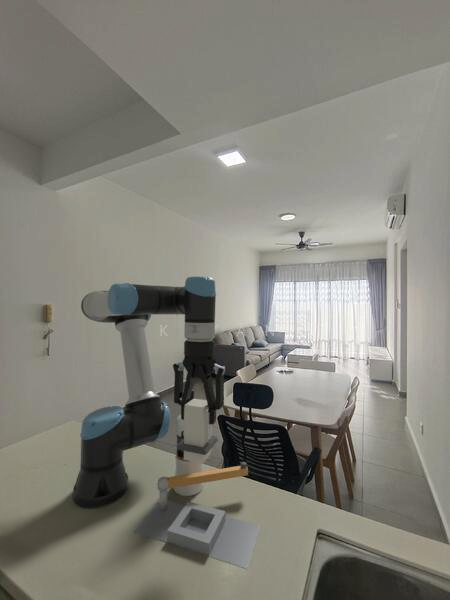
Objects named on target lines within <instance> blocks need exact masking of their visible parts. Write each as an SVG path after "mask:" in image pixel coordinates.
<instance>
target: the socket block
mask: <svg viewBox="0 0 450 600" xmlns="http://www.w3.org/2000/svg"><path fill="white" fill-rule="evenodd" d="M261 527H262V525H260V524H256V523H253V522H250V521H245V520H241V519H238V518H233V517H230V516H227V515H226V511H225V510H223V509H219V508H215V507H210V506H207V505H203V504H199V503H196V502H192V501H187V502H186V504H183V503H178V502H175V501H173V500H168V490H166V491H159V501H158V502H157V503H156V504H155V506H154V507H153V508H152V509H151V511H149V512H148V514H147V515H146V516H145V517H144V518H143V519H142V521H141V522H140V523H139V524H138V525H137V526H136V528H135V529H134V530H133V533H137V534H140V535H142V536H146V537H148V538H151V539H154V540H158V541H160V542H163V543H167V544H169V545H173V546H175V547H178V548H182V549H185V550H188V551H191V552H194V553H197V554H200V555H203V556H206V557H208V558H213V559H216V560H218V561H220V562H221V561H222V562H225V563H227V564H230V565H233V566H237V567H240V568H243V569H245V570H248V569H249V567H250V563H251V560H252V556H253V553H254V551H255V547H256V543H257V541H258V537H259V534H260V530H261Z"/></svg>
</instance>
